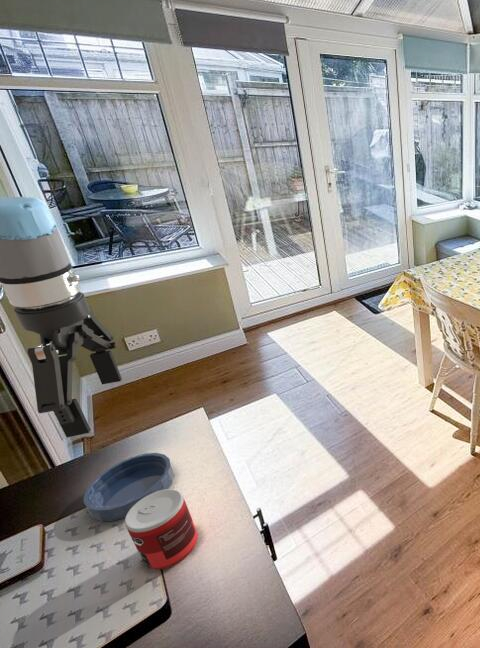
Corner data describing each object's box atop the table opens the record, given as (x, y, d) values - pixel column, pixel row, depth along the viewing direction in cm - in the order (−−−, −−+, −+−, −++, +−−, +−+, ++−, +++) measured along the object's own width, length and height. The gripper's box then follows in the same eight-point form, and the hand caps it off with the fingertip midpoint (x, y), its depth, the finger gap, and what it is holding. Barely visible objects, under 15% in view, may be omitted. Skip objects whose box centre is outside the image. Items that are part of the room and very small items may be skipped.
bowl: (77, 533, 77) (70, 520, 76) (105, 476, 88) (99, 464, 87) (165, 507, 82) (160, 495, 81) (181, 456, 93) (177, 445, 92)
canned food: (154, 536, 77) (134, 495, 73) (204, 522, 80) (188, 483, 75) (136, 578, 71) (114, 536, 66) (192, 562, 73) (174, 521, 69)
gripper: (37, 336, 55) (94, 453, 63) (111, 265, 75) (146, 360, 84) (-44, 347, 52) (27, 468, 60) (57, 270, 72) (99, 368, 81)
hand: (96, 405), depth 72 cm, fingers open, 13 cm apart
